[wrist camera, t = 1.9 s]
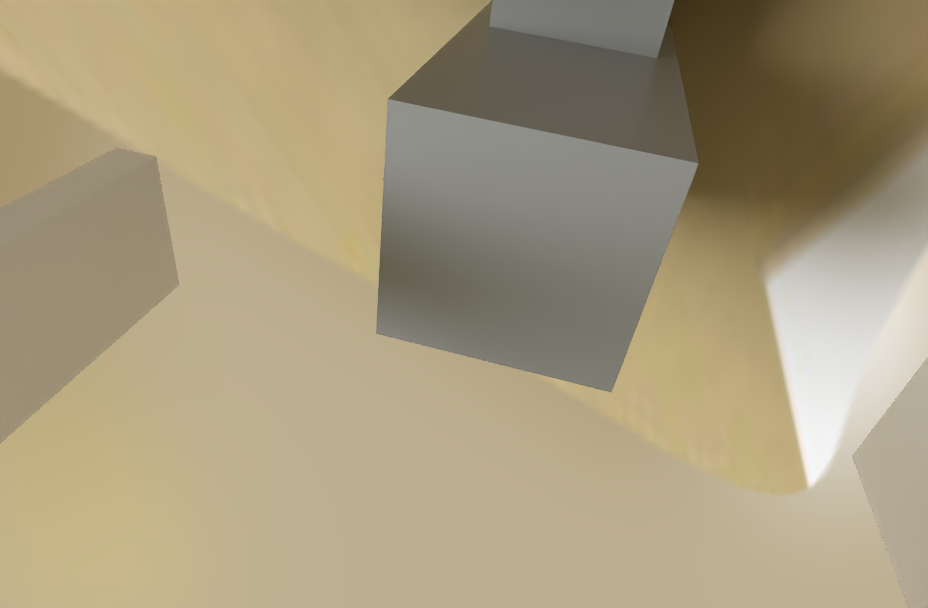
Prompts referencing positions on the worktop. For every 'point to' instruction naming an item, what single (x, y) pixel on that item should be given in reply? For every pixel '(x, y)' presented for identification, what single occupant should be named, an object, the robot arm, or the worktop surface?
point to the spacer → (535, 185)
